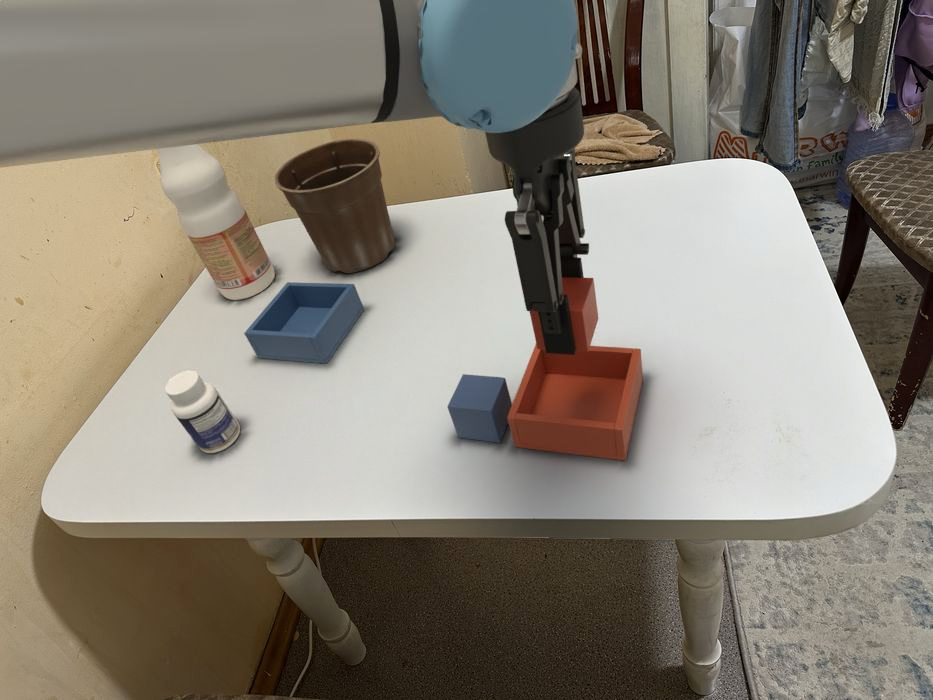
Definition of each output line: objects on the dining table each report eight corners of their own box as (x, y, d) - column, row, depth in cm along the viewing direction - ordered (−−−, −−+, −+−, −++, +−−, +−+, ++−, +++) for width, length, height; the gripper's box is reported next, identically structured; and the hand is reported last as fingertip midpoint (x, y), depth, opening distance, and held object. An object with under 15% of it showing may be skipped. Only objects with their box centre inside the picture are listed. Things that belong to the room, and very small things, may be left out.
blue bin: (257, 358, 93) (243, 333, 90) (299, 306, 100) (287, 282, 97) (327, 363, 88) (314, 337, 85) (364, 309, 96) (354, 283, 93)
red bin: (514, 447, 70) (506, 417, 67) (542, 371, 78) (536, 342, 75) (625, 460, 65) (622, 430, 62) (643, 379, 73) (640, 348, 70)
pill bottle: (196, 435, 83) (155, 380, 77) (236, 414, 84) (199, 358, 78) (203, 461, 79) (161, 405, 73) (245, 440, 80) (207, 383, 74)
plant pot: (425, 251, 104) (395, 156, 94) (332, 296, 100) (291, 202, 90) (385, 216, 116) (355, 129, 106) (301, 255, 112) (262, 168, 102)
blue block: (457, 437, 73) (447, 406, 69) (472, 405, 76) (462, 373, 73) (500, 443, 71) (491, 411, 68) (513, 409, 74) (505, 377, 71)
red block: (537, 349, 64) (528, 309, 61) (549, 316, 67) (542, 276, 64) (588, 352, 62) (582, 311, 59) (598, 318, 65) (593, 277, 62)
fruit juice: (225, 309, 105) (129, 143, 87) (218, 282, 112) (128, 123, 94) (281, 285, 106) (198, 117, 88) (271, 260, 113) (192, 100, 96)
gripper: (547, 149, 42) (586, 402, 57) (601, 47, 54) (622, 277, 69) (441, 156, 45) (504, 394, 60) (514, 57, 57) (552, 276, 72)
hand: (567, 331), depth 64 cm, fingers closed on red block, 5 cm apart
